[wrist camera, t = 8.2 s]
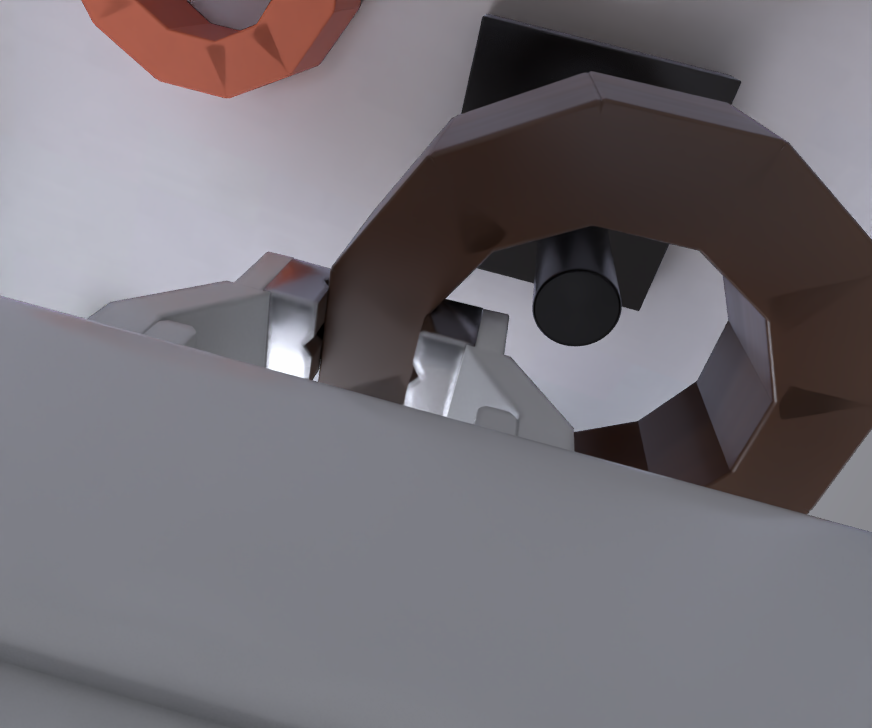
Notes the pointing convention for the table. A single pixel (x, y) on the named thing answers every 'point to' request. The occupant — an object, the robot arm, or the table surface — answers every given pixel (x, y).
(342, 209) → the table surface
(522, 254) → the peg stand
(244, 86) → the terracotta ring
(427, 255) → the walnut ring
